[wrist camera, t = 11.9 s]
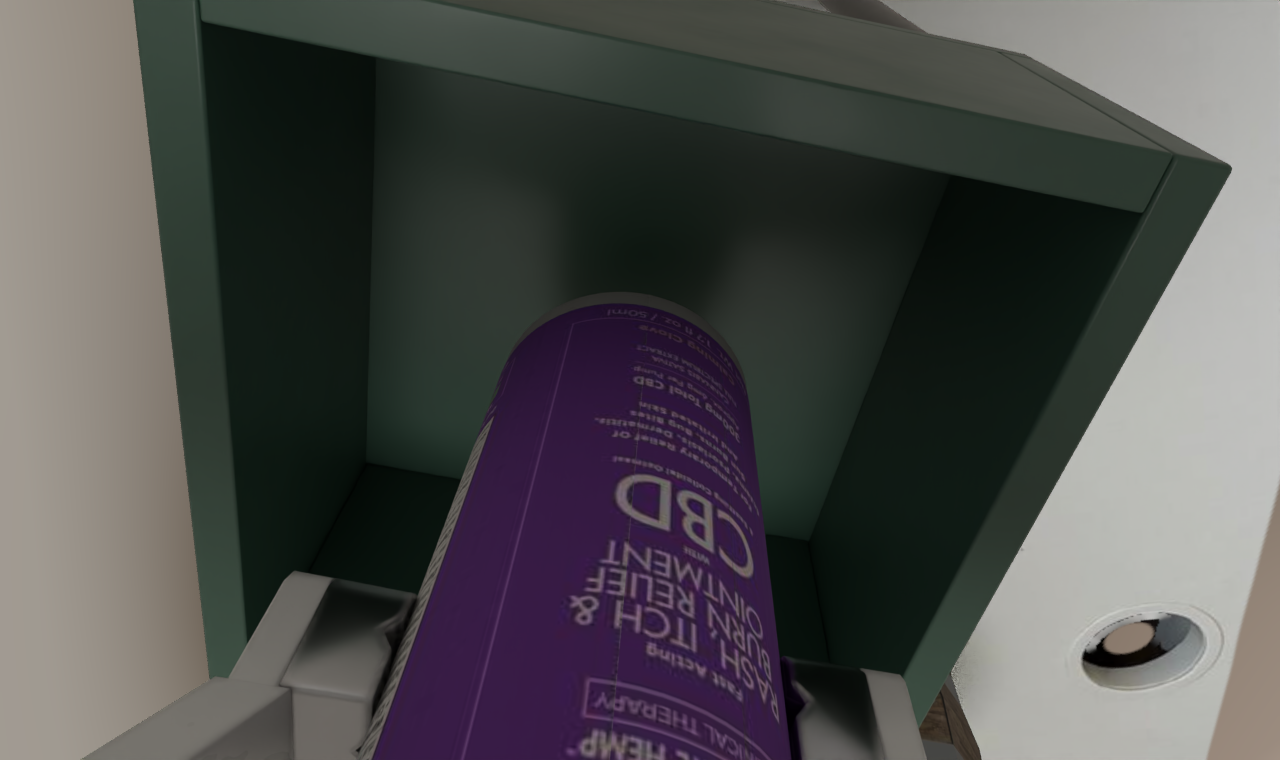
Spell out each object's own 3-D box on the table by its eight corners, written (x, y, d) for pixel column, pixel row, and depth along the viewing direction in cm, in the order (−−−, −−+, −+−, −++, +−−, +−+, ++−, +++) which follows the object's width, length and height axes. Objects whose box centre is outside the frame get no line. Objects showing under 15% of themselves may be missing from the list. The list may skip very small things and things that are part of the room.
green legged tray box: (525, -111, 34) (122, -65, 10) (851, -40, 35) (1237, 167, 11) (493, 207, 41) (209, 698, 17) (765, 260, 42) (877, 805, 18)
